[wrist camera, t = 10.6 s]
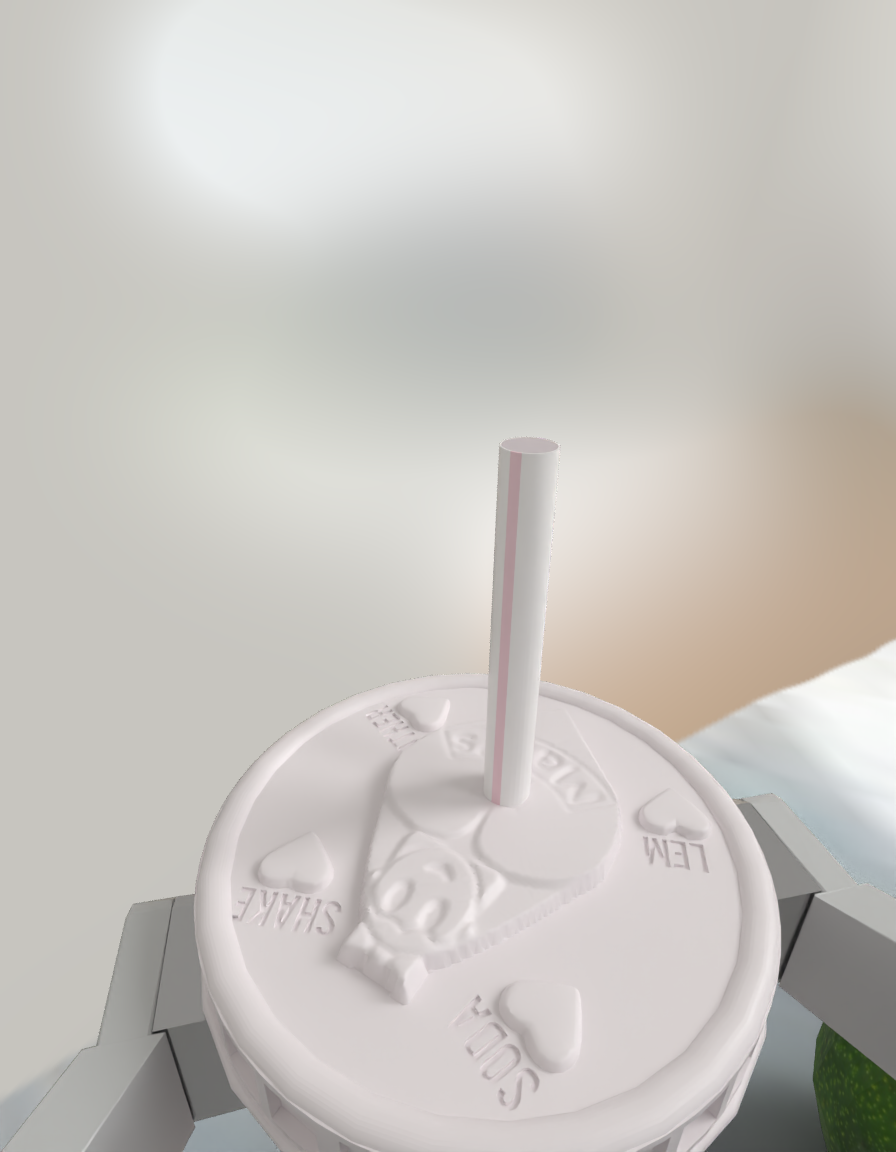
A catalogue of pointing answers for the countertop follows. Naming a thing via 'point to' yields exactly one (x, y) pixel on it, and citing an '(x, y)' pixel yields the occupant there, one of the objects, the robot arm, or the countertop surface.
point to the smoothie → (487, 908)
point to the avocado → (853, 1097)
